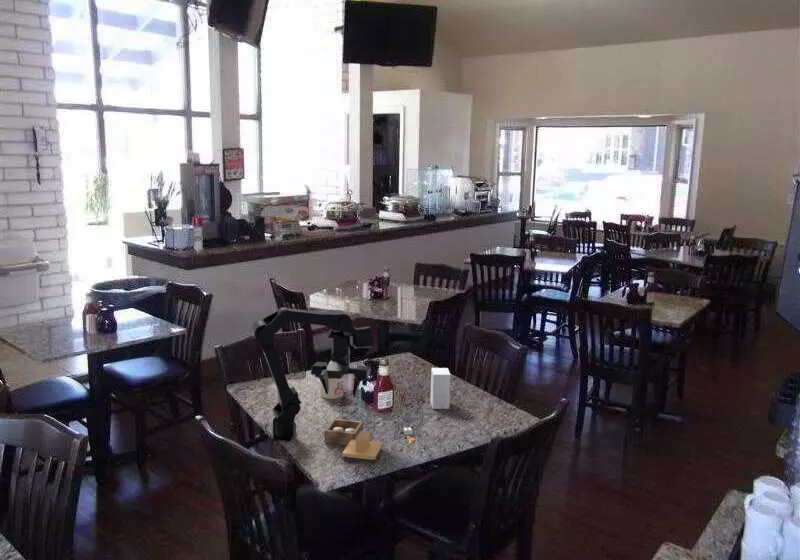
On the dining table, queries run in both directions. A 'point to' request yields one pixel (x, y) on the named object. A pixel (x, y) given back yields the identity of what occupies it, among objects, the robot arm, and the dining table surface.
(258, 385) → the dining table surface
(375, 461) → the rubber mat
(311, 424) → the dining table surface
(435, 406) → the small box
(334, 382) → the teacup with lid
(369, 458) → the lid
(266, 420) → the dining table surface
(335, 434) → the walnut box
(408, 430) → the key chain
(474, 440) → the dining table surface
